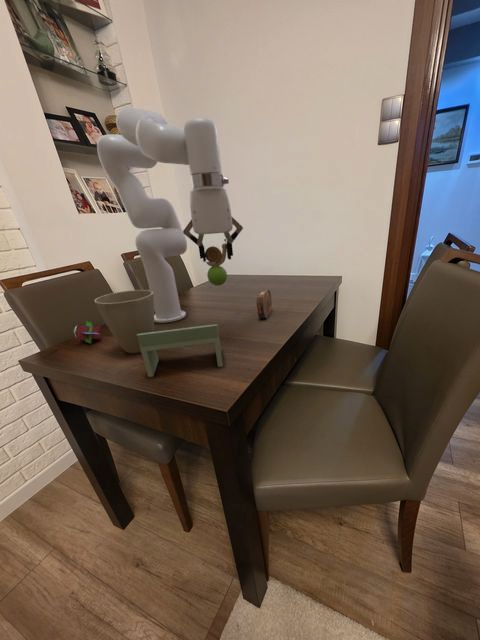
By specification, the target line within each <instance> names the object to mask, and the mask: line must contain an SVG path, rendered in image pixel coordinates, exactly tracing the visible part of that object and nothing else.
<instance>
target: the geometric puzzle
mask: <svg viewBox="0 0 480 640" xmlns="http://www.w3.org/2000/svg"><path fill="white" fill-rule="evenodd" d="M100 329H101V326H100V325H97V324H96V325H95V323H93V322H91V321H88V320H85V323H82V325H79V324H77V325H76V326H75V327H74V329H73V335H74V336H75V339H77V340H80V341H82V342H85V343H88V344H90V345H92V340H93V342H95V341H96V340H100V334H101V330H100Z"/></svg>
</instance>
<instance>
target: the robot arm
mask: <svg viewBox="0 0 480 640" xmlns="http://www.w3.org/2000/svg"><path fill="white" fill-rule="evenodd" d="M115 118H116V119H115V123H116V127H117V130H118V132H119V133H120V134H116V133H115V134H113V133H111V134H110V133H109V134H104V135H102V136H100V137H99V138H98V140H97V142H96V149H97V150H96V151H97V155H98V158H99V162H100V164H101V167H102V169H103V171H104V173H105V175H106V176H107V178H108V179H109V181H110V182H111V184H112V185H113V187H114V188H115V189H116V192H117V193H118V194H117V195H118V197H119V198H120V201H121V203H122V206H123V208H124V210H125V213H126V216H127V217H128V219H129V221H130V223H131V224H132V226H133V227H135V228H136V229H141V231H139V232H138V233H137V234H136V236H135V238H134V242H135V247H136V250H137V252H138V255H139V257H140V260H141V262H142V265H143V268H144V273H145V277H146V280H147V285H148V290H149V291H152V292H153V298H154V323H157V324H158V323H159V324H167V323H173V322H177V321H180V320H183V319H184V318H186V316H187V313H186V311H184V310H182V309H181V308H182V307H181V305H180V297H179V294H178V289H177V288H178V287H177V283H176V278H175V274H174V269H173V267H172V266H171V265H170V264H169V262H167V260H166V258H170V257H171V258H172V257H176V256H181V255H184V254H185V253H186V251H187V249H188V240H187V238H188V239H189V240H190V241H192V243H194V244H195V245H196V246H197V247H198V251H199V252H198V253H199V258H200V259H202V261H203V263H206V262H207V259H206V257H205V252H206V250H205V245H204V243H203V240H204V237H205V235H212V234H214V235H215V234H223V235H224V238H225V239H226V245H227V249H226V258H227V260H232V257H233V256H234V249H233V243H234V241H235V240H236V239H237V237H238V235H239V234H241V232H242V231H243V229H244V227H243V225H241V224H240V223H239V222H238V220H236V219H235V218H234V217H233V215H232V209H231V204H230V199H229V195H228V192H227V189H226V188H224V187H225V185H228V184H229V183H230V181H229V177H228V176H227V177H225V176H224V175H223V172H222V164H221V163H222V162H221V153H220V146H219V145H220V142H219V135H218V133H219V132H218V127H217V125H216V123H215V122H214V120H212V119H210V118H207V117H194V118H190V119H188V120H186V122H185V123H184V125H183V127H182V126H176V125H172V124H168V121H167V120H166V118H165V117H164V116H163V115H162V114H161V113H158V112H156V111H151V110H146V109H143V108H142V109H141V108H137V107H131V106H128V107H124V108H121V109H120V110H119V111H118V113H117V114H116V117H115ZM158 163H163V164H173V165H184V166H188V168H189V174H190V180H191V188H192V190H190V191H189V206H190V207H189V208H190V216H191V219H190V220H189V222H188V224H187V225H186V226H185V228H184V229H183V227H182V225H181V222H180V219H179V216H178V215H177V212H176V210H175V208H174V206H173V204H172V203H171V202H170V201H169V200H168V199H166V198H163V197H149V196H148V195H147V193H146V190H145V187H144V185H143V183H142V182H141V181H140V179H139V178H138V177H137V176H136V175H134V174H133V173H132V172H131V171H130V170H129V169H128V168H133V169H134V168H135V169H153V168H154V167H155V166H156V165H157V164H158ZM233 227H235V230H233ZM142 229H145V230H142ZM192 229H193V232H194V233H195V234H197V235H198V237H196V236H195V235H194V234H192V233H191V230H192ZM231 231H233V232H232V233H230V232H231Z"/></svg>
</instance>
